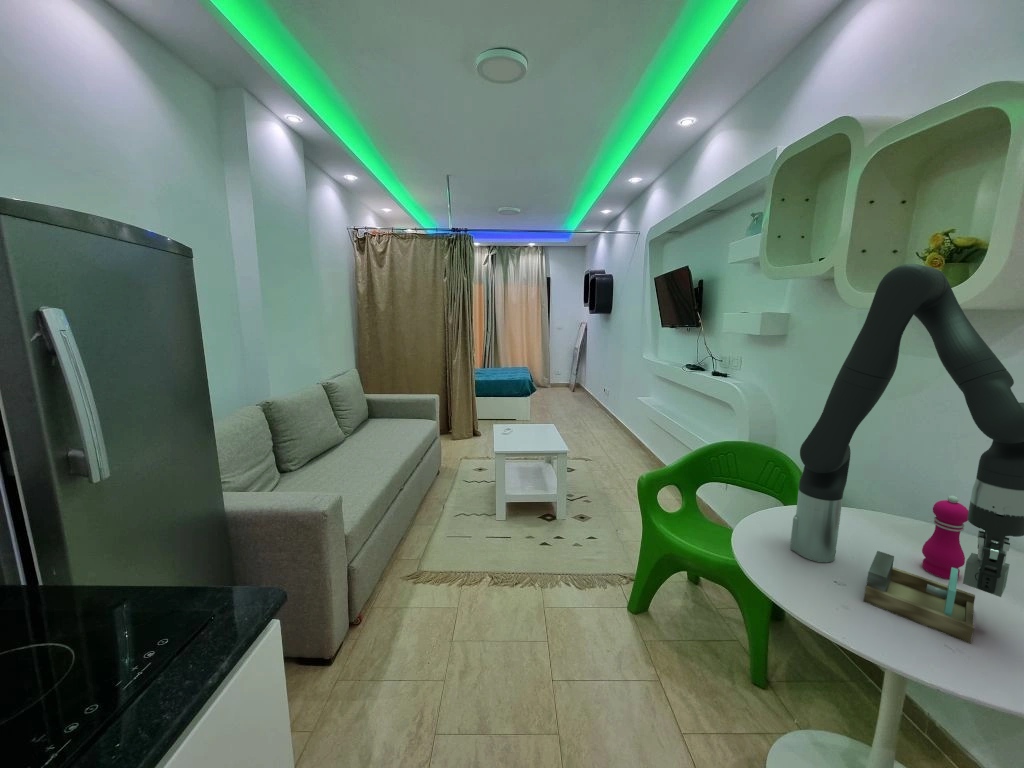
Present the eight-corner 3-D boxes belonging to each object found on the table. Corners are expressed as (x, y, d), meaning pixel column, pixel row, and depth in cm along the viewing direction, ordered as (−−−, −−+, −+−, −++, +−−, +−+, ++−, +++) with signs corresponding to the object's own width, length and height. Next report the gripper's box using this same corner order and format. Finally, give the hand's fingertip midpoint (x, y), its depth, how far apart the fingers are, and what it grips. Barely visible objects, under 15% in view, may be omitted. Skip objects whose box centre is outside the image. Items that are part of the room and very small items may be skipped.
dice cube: (962, 583, 82) (966, 561, 81) (968, 574, 84) (971, 552, 84) (1000, 597, 78) (1005, 573, 77) (1005, 587, 80) (1009, 564, 79)
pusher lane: (863, 601, 91) (867, 573, 89) (874, 574, 99) (878, 549, 98) (970, 644, 79) (977, 612, 77) (972, 609, 87) (978, 580, 86)
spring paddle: (921, 616, 85) (927, 582, 83) (926, 592, 91) (931, 560, 90) (949, 627, 82) (956, 592, 80) (952, 602, 88) (958, 569, 87)
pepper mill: (970, 582, 96) (986, 504, 92) (934, 579, 97) (948, 502, 94) (945, 563, 103) (958, 490, 99) (911, 561, 104) (923, 488, 101)
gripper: (971, 487, 85) (958, 560, 88) (970, 511, 76) (956, 591, 79) (1028, 499, 80) (1013, 576, 83) (1034, 525, 70) (1017, 611, 73)
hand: (985, 583), depth 81 cm, fingers closed on dice cube, 5 cm apart
